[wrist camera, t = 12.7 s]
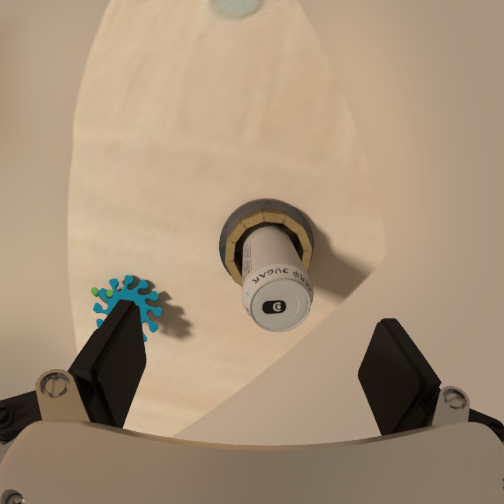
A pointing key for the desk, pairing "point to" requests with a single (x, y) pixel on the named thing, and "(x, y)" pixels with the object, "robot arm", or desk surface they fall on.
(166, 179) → the desk surface
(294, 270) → the energy drink can
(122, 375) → the robot arm
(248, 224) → the carrier
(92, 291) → the gear
